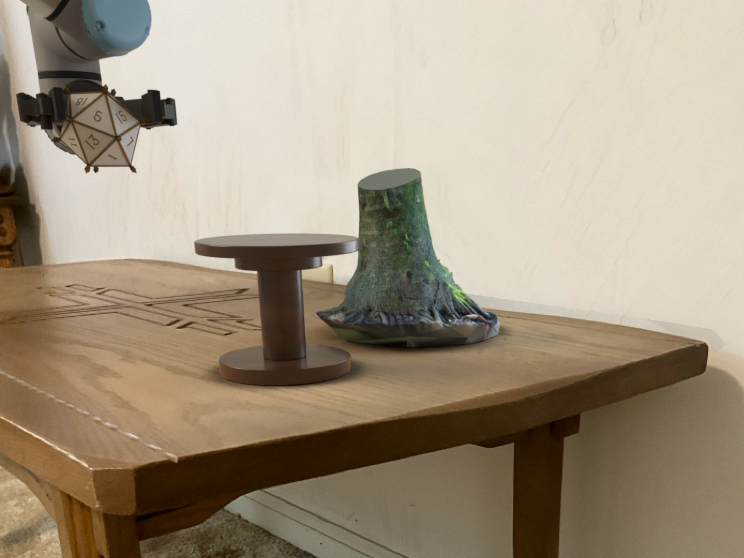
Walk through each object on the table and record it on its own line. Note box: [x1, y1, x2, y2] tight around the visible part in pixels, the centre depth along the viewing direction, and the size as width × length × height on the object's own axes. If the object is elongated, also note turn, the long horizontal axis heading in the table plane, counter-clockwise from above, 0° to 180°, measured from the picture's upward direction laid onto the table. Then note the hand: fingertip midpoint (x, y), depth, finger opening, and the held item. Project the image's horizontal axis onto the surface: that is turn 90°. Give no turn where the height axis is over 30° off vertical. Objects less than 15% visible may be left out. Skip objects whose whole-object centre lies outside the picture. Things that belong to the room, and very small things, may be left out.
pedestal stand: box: [193, 232, 359, 386], centre depth 70 cm, size 13×13×10 cm
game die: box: [50, 83, 149, 174], centre depth 85 cm, size 9×8×10 cm
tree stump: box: [315, 167, 501, 348], centre depth 83 cm, size 18×20×18 cm
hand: (109, 104), depth 81 cm, fingers closed on game die, 8 cm apart
